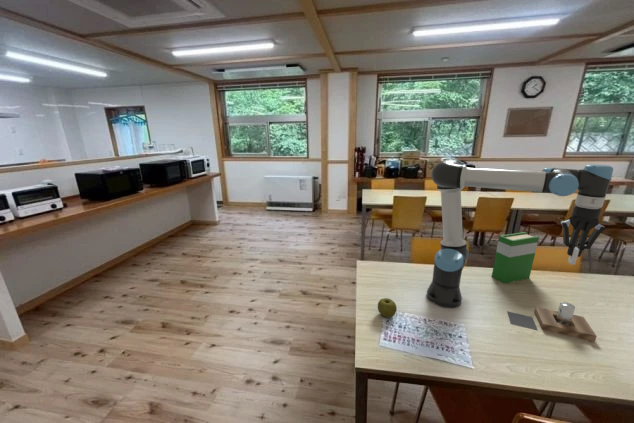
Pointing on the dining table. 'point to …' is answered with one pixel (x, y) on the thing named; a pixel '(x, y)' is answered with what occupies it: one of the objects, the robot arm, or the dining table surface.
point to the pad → (522, 320)
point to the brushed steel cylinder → (565, 313)
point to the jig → (575, 329)
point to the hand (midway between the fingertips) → (571, 263)
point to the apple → (387, 307)
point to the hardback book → (514, 257)
